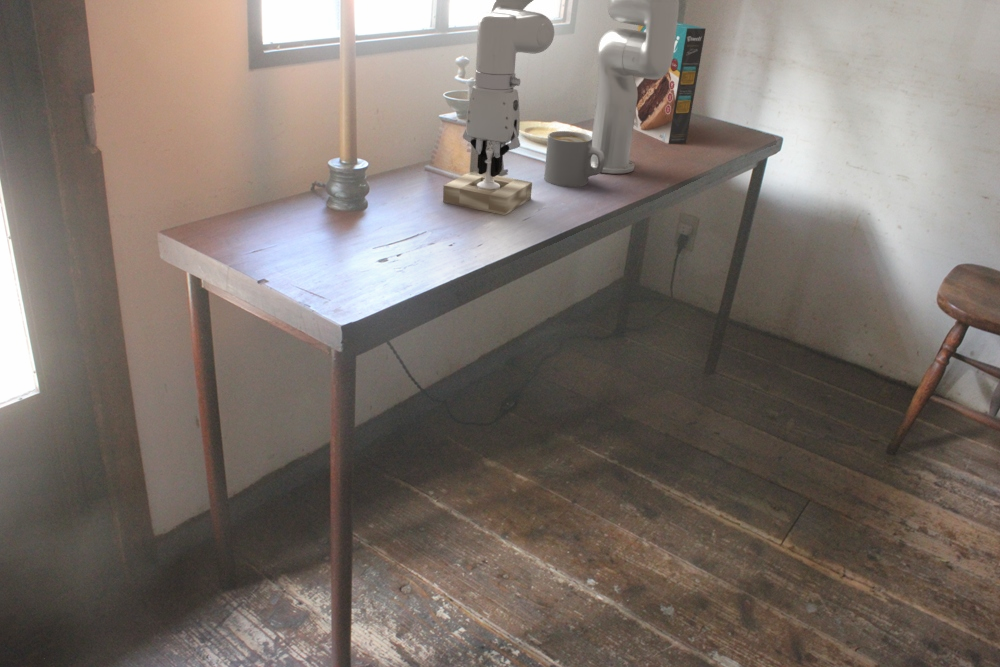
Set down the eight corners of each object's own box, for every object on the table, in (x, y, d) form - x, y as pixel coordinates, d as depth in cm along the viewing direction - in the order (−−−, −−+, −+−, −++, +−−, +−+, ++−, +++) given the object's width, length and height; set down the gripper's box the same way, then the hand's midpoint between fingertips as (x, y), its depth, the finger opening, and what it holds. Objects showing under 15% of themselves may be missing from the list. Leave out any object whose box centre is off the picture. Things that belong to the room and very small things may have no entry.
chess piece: (479, 192, 160) (482, 143, 155) (473, 185, 164) (476, 137, 160) (503, 191, 161) (506, 143, 157) (496, 184, 166) (499, 136, 161)
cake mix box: (625, 125, 235) (639, 17, 221) (642, 124, 237) (657, 17, 223) (668, 143, 218) (687, 28, 204) (686, 142, 220) (705, 28, 206)
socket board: (471, 186, 172) (472, 170, 170) (530, 198, 167) (532, 182, 165) (443, 201, 161) (443, 185, 160) (505, 215, 156) (506, 198, 155)
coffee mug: (535, 179, 180) (539, 135, 175) (559, 171, 187) (563, 128, 182) (585, 193, 173) (591, 147, 168) (608, 184, 180) (614, 140, 175)
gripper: (539, 84, 153) (532, 176, 162) (467, 73, 159) (463, 163, 167) (524, 89, 147) (517, 185, 156) (449, 78, 153) (446, 171, 161)
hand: (489, 173), depth 161 cm, fingers closed on chess piece
